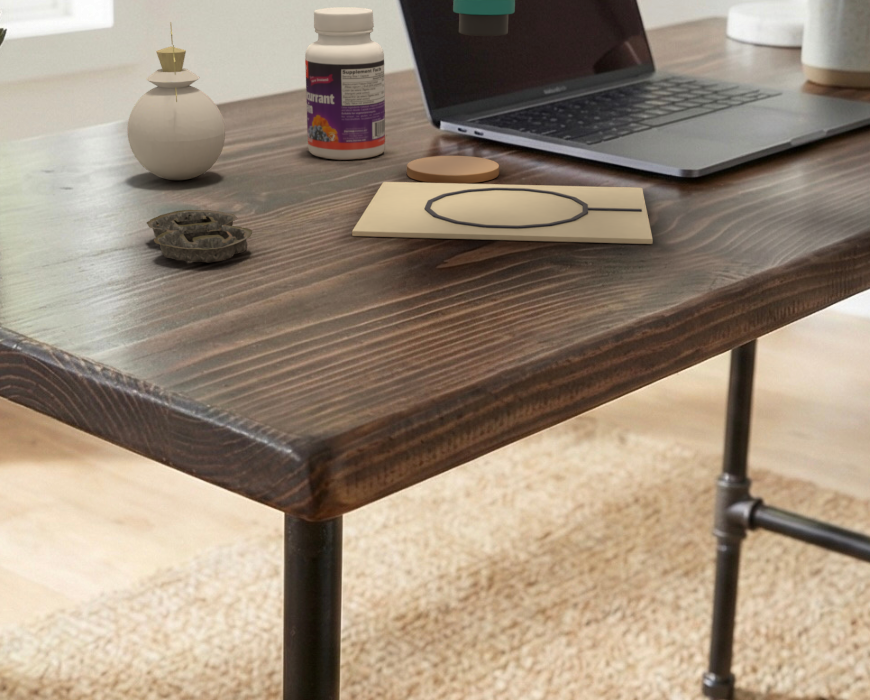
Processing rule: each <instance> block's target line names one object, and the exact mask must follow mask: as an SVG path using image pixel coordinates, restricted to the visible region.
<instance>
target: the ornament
mask: <svg viewBox="0 0 870 700" xmlns="http://www.w3.org/2000/svg"><path fill="white" fill-rule="evenodd" d="M169 24H170V38H171V46H168V47H164V48H161V49H157V50H155V51H156V55H157V59H158V61H159V64H160V67H161V68H159V69H156V70H155V71H154V72H153V73H151V74H150V75H149V76H148V77H146V79H145V80H146V81H148V82H149V83H151V84H153V85H154V86H155V87H153V88H151V89H149V90H148V91H146V92H145V93H143V95H142V96H141V97H139V99H138V100H137V101H136V103H135V104H134V106H133V107H132V109H131V111H130V114H129V117H128V121H127V139H128V143H129V147H130V149H131V152H132V153H133V156H134V157H135V159H136V160H137V162H139V164H140V165H141V166H142V167H143V168H144V169H145V170H147V171H148V172H149V173H150V174H153V175H155V176H156V177H159V178H161V179H164V180H168V181H169V180H170V181H186V180H187V181H188V180H191V179H194V178H197V177H199V176H202V174H204V173H206V172H207V171H208V170H210V169H211V168H212V167H213V166H214V165H215V164H216V162H217V161H218V159H219V158H220V156H221V154H222V152H223V149H224V145H225V141H226V127H225V120H224V117H223V115H222V113H221V111H220V109H219V106H217V104H216V103H215V101H214V100H213V99H212V98H211V97H210V96H209V95H207V94H206V93H205V92H204V91H202V90H201V89H199V88H197V87H194V86H192V84H194V83H195V82H196V81H198V80H199V79H200V76H198V75H197V74H196V73H194V72H192V71H191V70H189V69H188V68H184V63H185V58H186V53H187V50H186V49H182V48H179V47H175V45H174V44H173V42H174V41H173V29H172V22H171V21H170V22H169Z"/></svg>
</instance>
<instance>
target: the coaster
mask: <svg viewBox="0 0 870 700" xmlns="http://www.w3.org/2000/svg"><path fill="white" fill-rule="evenodd" d="M406 175H407V177H408V178H410V179H412V180H415V181H418V182H422V183H459V184H479V183H483V182H488V181H492V180H494V179H496V178H498V177H499V175H500V165H499V163H498V162H496V161H494V160H493V159H489V158H484V157H478V156H470V155H469V156H468V155H436V156H427V157H420V158H416V159H413V160H411V161H409V162H408V163H407V164H406Z"/></svg>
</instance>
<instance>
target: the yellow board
mask: <svg viewBox="0 0 870 700" xmlns="http://www.w3.org/2000/svg"><path fill="white" fill-rule="evenodd" d="M648 215H649V213H648V209H647V206H646V200H645V195H644V190H643V187H632V186H631V187H628V186H627V187H626V186H624V187H623V186H590V185H589V186H588V185H587V186H586V185H585V186H584V185H580V186H579V185H546V184H545V185H540V184H539V185H538V184H537V185H536V184H500V183H499V184H497V183H495V184H494V183H469V184H459V183H429V182H413V181H409V182H408V181H407V182H406V181H383V182H382V183H381V184H380V187H379V188H378V190H377V191H376V193H375V194H374V195H373V198H372V199H371V201H370V202H369V204H368V205H367V207H366V209H365V210H364V211H363V213H362V215H361V216H360V218H359V220H358V221H357V223H356V224H355V226H354V227H353V229H352V231H351V235H352V237H378V238H408V239H411V238H412V239H444V240H445V239H449V240H450V239H452V240H485V241H519V242H521V241H522V242H557V243H559V242H560V243H590V244H591V243H593V244H595V243H597V244H630V245H631V244H632V245H653V241H654V240H653V233H652V229H651V223H650V220H649V216H648Z"/></svg>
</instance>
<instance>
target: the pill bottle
mask: <svg viewBox="0 0 870 700" xmlns="http://www.w3.org/2000/svg"><path fill="white" fill-rule="evenodd" d="M374 25H375V23H374V12H373V10H372V9H371V8H365V7H351V6H350V7H349V6H344V7H343V6H342V7H341V6H340V7H324V8H318V9H314V11H313V29H314V33H316V34H317V35H318V36H317V40H316V41H314V42H312V43H310V44H309V45H308V46H307V48H306V50H305V52H304V53H305V54H304V67H305V90H306V91H305V96H306V130H307V132H306V134H307V147H308V151H309V153H310V154H311V155H313V156H315V157H318V158H321V159H329V160H336V161H337V160H339V161H341V160H342V161H350V160H351V161H352V160H363V159H370V158H374V157H377V156H379V155H382V154H383V153H384V151H385V148H386V116H385V115H386V100H385V99H386V98H385V93H386V91H385V90H386V89H385V85H386V83H385V52H384V49H383V47H382V46H381V44H379V43H378V42H376V41H374V40H372V38H371V34H372V32H374V27H375V26H374Z"/></svg>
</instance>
